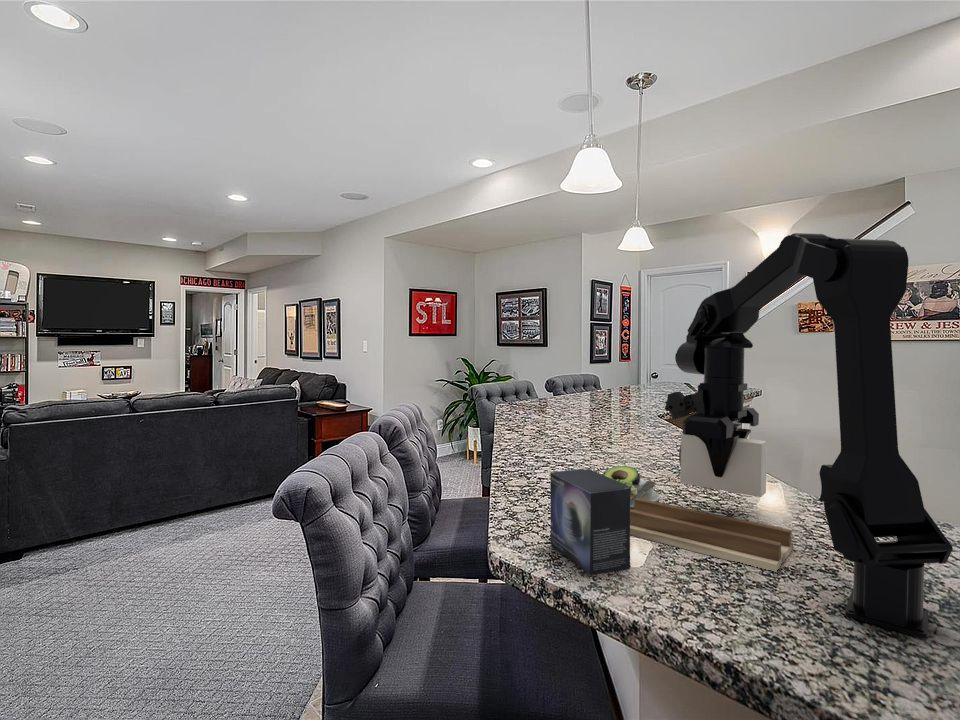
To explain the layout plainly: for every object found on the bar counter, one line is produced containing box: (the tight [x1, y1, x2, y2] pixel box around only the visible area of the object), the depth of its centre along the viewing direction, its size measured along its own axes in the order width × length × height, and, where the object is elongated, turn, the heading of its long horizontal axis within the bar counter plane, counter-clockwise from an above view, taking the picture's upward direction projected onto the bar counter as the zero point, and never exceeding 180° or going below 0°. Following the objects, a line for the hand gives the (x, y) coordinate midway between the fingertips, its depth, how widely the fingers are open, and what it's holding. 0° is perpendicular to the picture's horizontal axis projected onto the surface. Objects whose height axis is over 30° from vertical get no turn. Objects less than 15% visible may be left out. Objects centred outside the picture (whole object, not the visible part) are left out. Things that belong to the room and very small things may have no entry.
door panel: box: [679, 433, 768, 498], centre depth 83 cm, size 3×12×8 cm, turn 49°
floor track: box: [630, 498, 794, 573], centre depth 75 cm, size 10×22×3 cm, turn 49°
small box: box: [549, 467, 631, 576], centre depth 69 cm, size 11×6×10 cm, turn 21°
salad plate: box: [603, 465, 661, 510], centre depth 96 cm, size 19×18×5 cm
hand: (721, 474), depth 83 cm, fingers closed on door panel, 3 cm apart
